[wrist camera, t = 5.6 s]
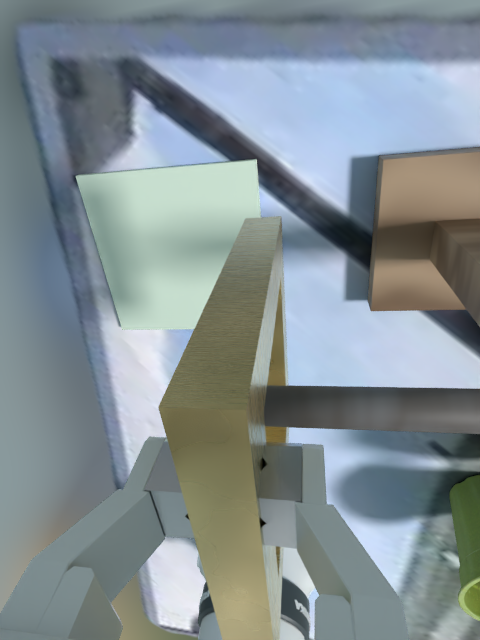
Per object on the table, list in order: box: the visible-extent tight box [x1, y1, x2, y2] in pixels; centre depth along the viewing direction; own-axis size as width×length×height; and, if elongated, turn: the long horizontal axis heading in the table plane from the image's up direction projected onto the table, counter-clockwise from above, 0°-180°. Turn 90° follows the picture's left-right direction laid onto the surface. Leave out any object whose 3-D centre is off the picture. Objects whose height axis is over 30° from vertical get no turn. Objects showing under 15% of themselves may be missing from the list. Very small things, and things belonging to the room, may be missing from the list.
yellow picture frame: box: [159, 216, 289, 640], centre depth 15 cm, size 12×2×12 cm, turn 6°
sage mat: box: [76, 159, 261, 330], centre depth 34 cm, size 15×15×1 cm
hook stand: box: [264, 147, 480, 434], centre depth 21 cm, size 12×20×22 cm, turn 96°
